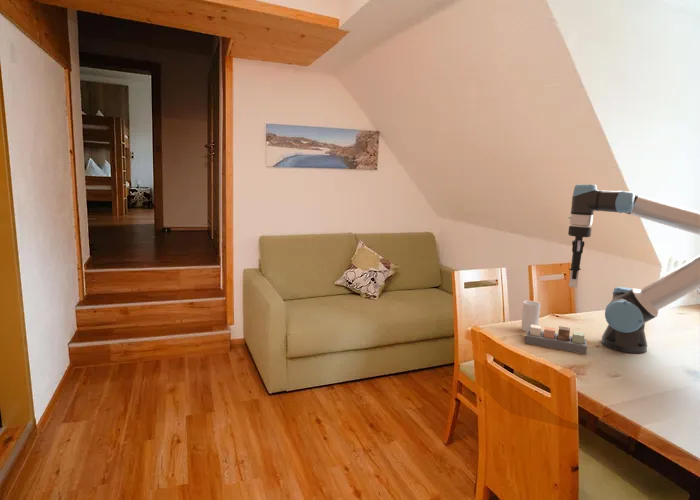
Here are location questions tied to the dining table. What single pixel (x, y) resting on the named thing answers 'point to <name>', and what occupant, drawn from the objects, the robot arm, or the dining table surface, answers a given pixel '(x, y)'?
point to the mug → (530, 314)
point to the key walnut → (563, 333)
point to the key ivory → (535, 330)
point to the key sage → (578, 337)
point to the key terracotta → (549, 332)
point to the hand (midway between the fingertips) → (572, 286)
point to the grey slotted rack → (556, 343)
